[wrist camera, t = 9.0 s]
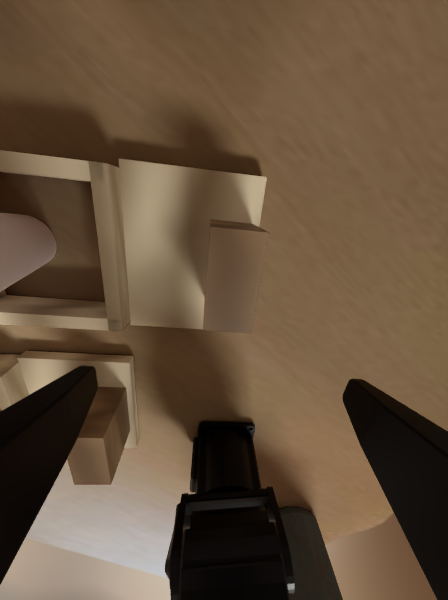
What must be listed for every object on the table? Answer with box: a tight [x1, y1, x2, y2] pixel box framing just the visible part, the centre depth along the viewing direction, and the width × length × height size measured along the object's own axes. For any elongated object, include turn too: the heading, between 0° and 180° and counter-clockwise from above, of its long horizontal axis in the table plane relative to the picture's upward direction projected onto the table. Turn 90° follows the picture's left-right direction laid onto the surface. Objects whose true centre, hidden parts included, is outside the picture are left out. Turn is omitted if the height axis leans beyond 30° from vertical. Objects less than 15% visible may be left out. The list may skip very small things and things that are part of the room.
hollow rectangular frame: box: [0, 351, 139, 485], centre depth 20 cm, size 20×12×6 cm, turn 84°
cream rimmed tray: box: [0, 150, 269, 333], centre depth 14 cm, size 20×12×6 cm, turn 84°
